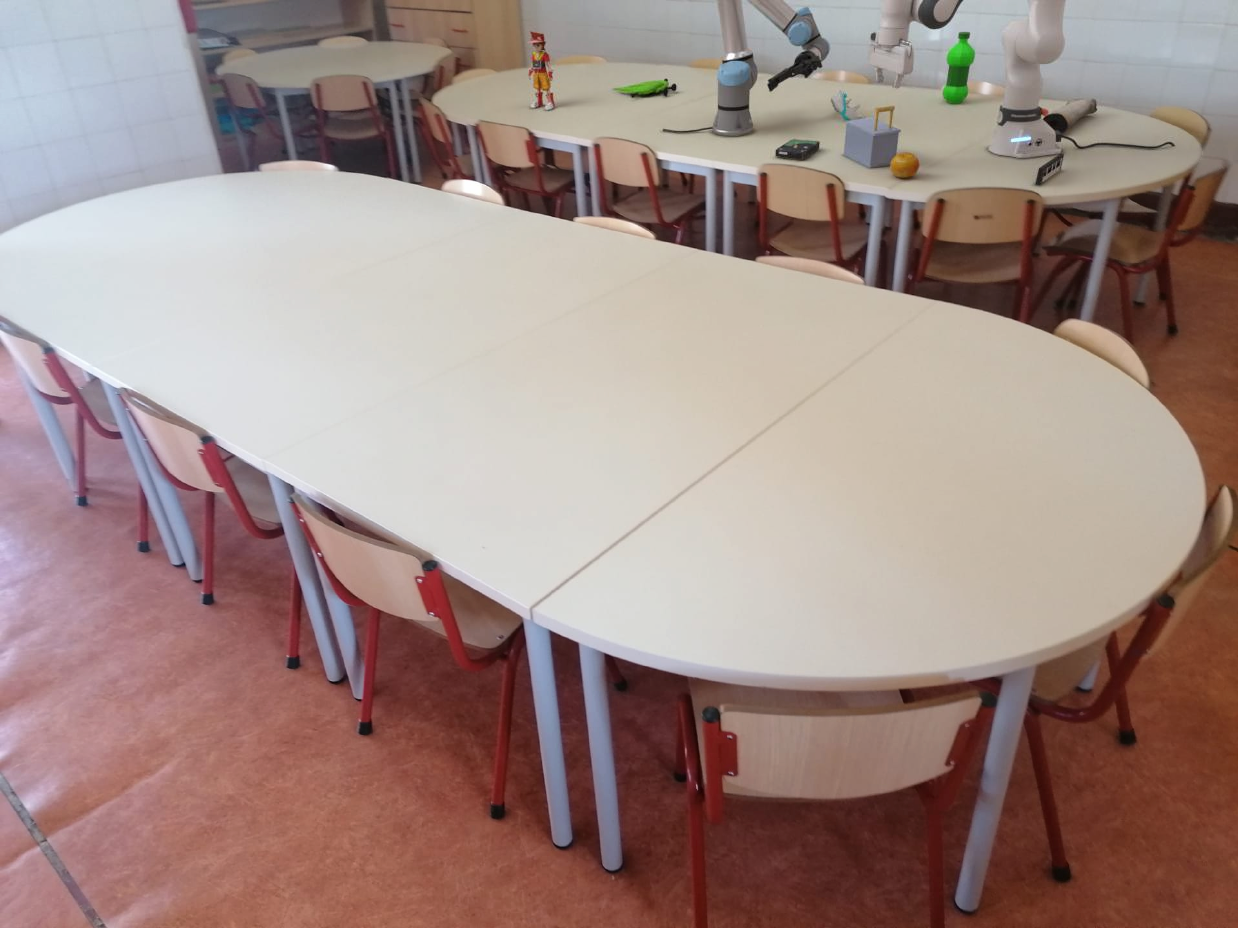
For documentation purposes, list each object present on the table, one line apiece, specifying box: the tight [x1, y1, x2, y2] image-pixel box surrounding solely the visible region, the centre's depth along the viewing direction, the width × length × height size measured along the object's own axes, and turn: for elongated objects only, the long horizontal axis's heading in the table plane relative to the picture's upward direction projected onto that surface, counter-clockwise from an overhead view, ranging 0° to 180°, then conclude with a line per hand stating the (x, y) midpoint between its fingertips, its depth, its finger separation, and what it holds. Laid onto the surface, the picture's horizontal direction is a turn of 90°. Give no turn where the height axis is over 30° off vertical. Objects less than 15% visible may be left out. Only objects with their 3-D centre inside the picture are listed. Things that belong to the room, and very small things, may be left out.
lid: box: [846, 105, 902, 136], centre depth 291 cm, size 18×9×8 cm, turn 18°
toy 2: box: [612, 78, 677, 99], centre depth 396 cm, size 28×5×30 cm
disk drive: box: [774, 138, 821, 161], centre depth 308 cm, size 10×3×15 cm
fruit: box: [889, 152, 920, 179], centre depth 281 cm, size 8×8×8 cm
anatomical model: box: [830, 89, 864, 122], centre depth 343 cm, size 15×10×10 cm
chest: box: [843, 123, 900, 169], centre depth 297 cm, size 17×9×10 cm, turn 18°
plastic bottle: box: [942, 31, 976, 104], centre depth 348 cm, size 10×10×25 cm
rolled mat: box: [1042, 97, 1098, 135], centre depth 320 cm, size 30×9×10 cm
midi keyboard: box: [1035, 153, 1065, 186], centre depth 273 cm, size 18×1×5 cm, turn 138°
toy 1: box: [527, 31, 556, 111], centre depth 374 cm, size 12×9×30 cm
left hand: (786, 81), depth 306 cm, fingers open, 13 cm apart
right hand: (887, 85), depth 281 cm, fingers open, 8 cm apart
